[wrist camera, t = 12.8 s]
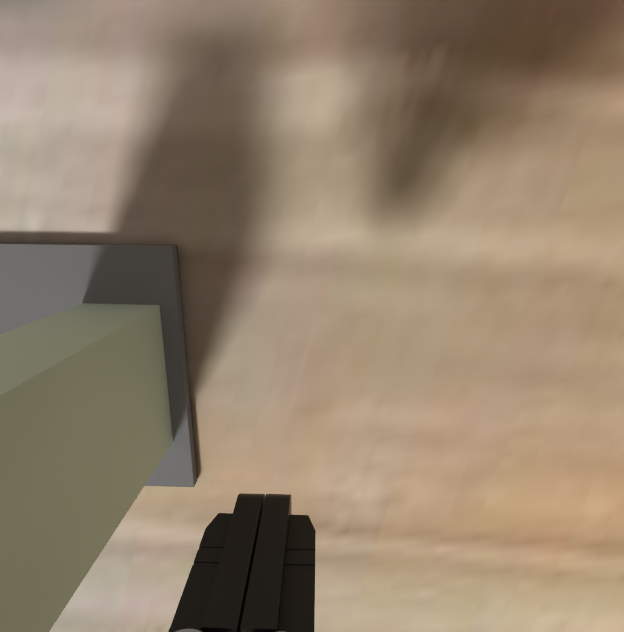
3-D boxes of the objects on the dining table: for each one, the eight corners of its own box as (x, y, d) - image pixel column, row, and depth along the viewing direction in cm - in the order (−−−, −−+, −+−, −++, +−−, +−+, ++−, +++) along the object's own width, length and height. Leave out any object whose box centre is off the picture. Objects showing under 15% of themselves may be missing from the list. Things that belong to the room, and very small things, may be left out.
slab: (159, 304, 19) (-126, 466, 7) (173, 441, 21) (-25, 744, 9) (81, 303, 19) (-331, 460, 7) (103, 439, 21) (-183, 736, 9)
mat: (176, 245, 19) (171, 246, 18) (197, 479, 22) (193, 486, 22) (-170, 240, 19) (-186, 241, 18) (-92, 471, 23) (-103, 478, 22)
